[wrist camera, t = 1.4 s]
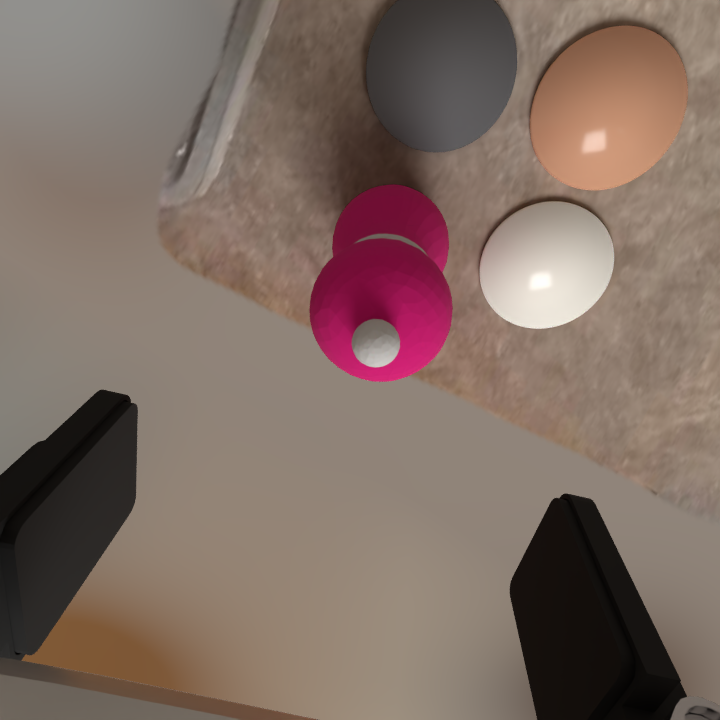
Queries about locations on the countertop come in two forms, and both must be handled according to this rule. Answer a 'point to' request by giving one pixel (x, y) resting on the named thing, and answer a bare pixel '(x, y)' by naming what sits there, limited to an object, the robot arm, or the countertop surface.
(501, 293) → the cream oval dome
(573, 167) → the peach oval dome
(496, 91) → the dark gray oval dome
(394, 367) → the pepper mill
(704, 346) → the countertop surface
